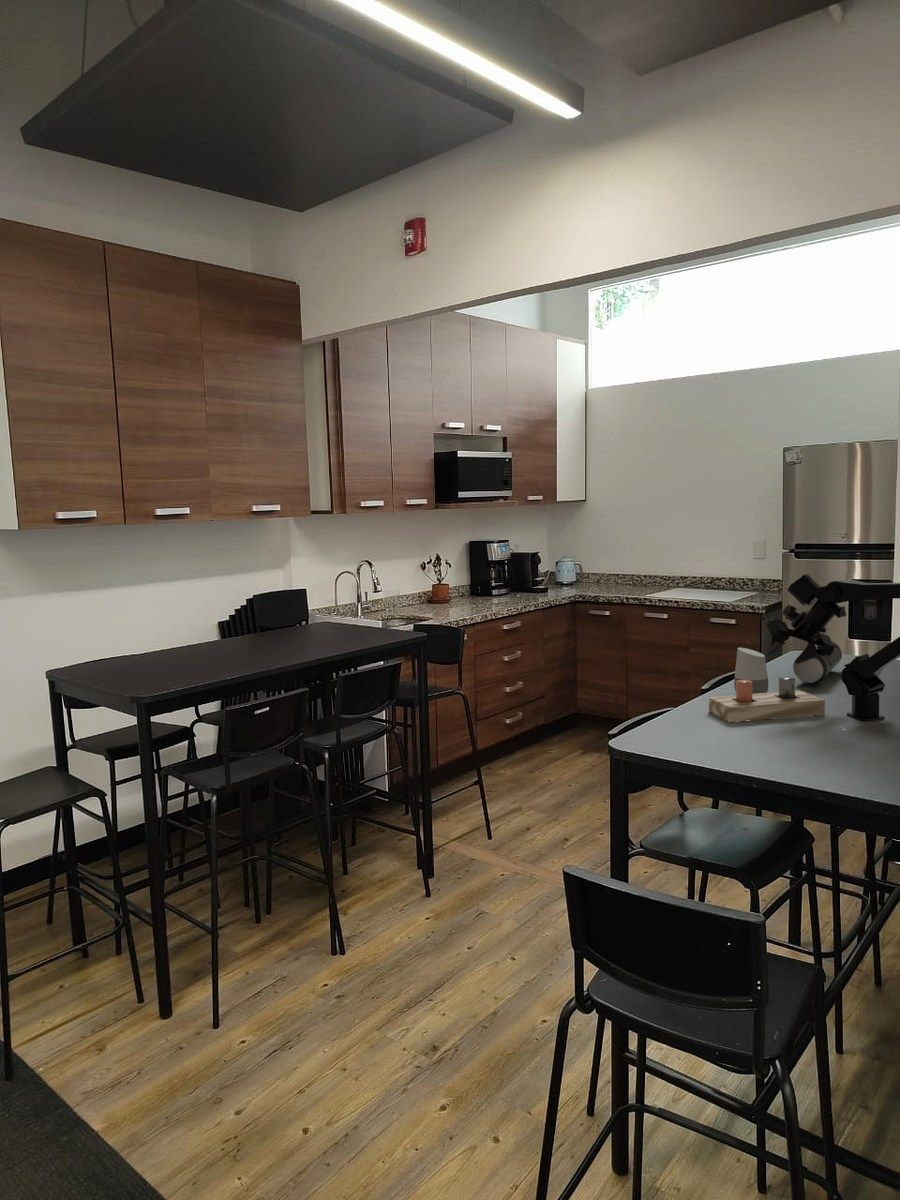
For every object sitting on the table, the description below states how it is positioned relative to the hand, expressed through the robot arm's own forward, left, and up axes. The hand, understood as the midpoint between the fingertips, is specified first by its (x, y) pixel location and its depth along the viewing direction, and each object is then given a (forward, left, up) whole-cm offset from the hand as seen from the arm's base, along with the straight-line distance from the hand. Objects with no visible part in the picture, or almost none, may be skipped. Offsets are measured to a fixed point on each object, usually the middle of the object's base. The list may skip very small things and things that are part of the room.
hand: (782, 658), depth 224 cm
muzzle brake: (+25, -26, -13) cm, 39 cm away
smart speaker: (+10, +4, -13) cm, 17 cm away
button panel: (-9, +10, -13) cm, 18 cm away
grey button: (-9, +4, -9) cm, 13 cm away
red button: (-9, +16, -9) cm, 20 cm away
